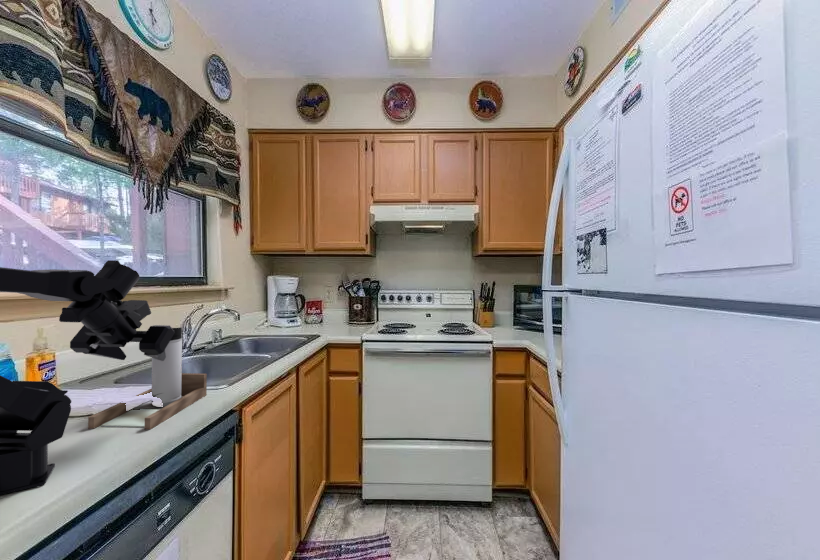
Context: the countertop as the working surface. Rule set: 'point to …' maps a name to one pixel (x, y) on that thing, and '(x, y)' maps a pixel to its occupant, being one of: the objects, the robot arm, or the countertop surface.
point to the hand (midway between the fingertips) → (144, 358)
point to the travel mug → (168, 371)
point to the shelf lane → (149, 418)
